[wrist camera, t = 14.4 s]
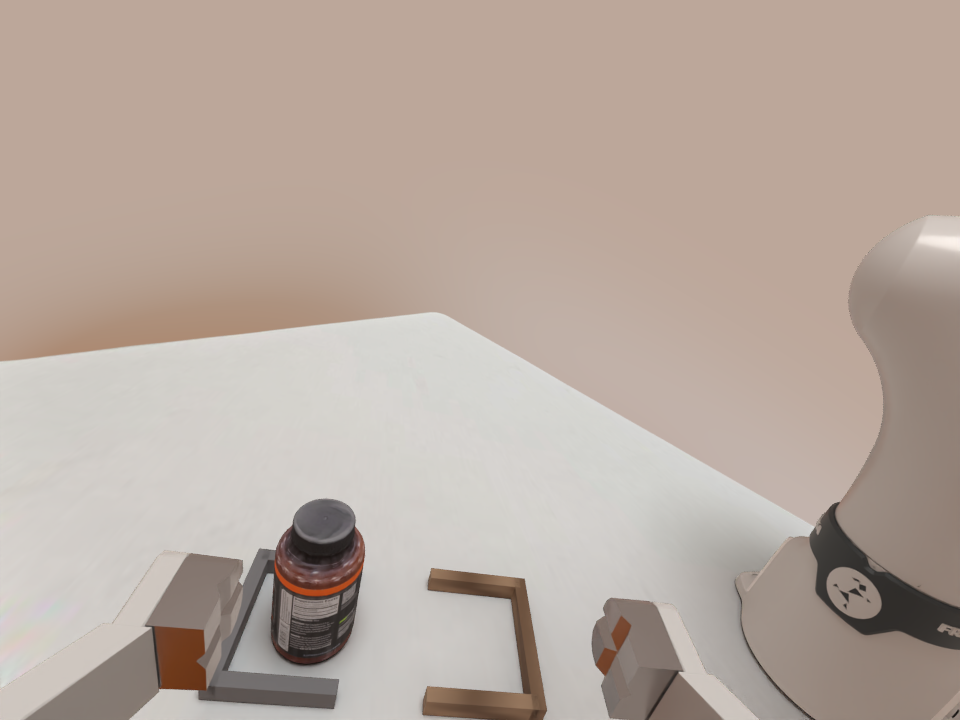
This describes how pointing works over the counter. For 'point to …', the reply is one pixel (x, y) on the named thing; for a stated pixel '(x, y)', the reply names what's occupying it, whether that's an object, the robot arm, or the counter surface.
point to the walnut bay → (515, 712)
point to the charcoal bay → (257, 684)
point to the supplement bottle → (316, 582)
